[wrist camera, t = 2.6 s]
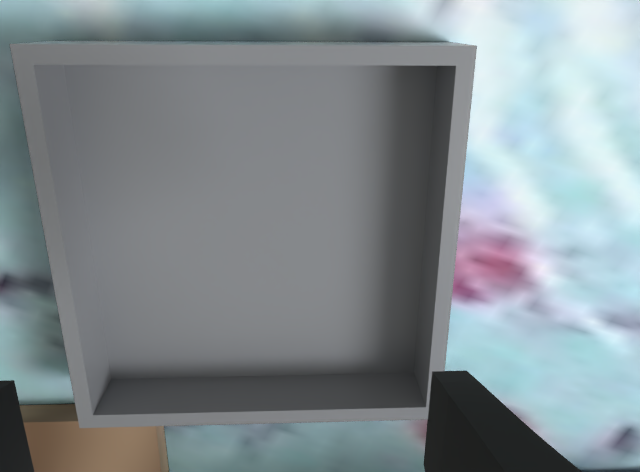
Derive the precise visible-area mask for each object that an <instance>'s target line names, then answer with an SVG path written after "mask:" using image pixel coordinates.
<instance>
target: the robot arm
mask: <svg viewBox="0 0 640 472" xmlns="http://www.w3.org/2000/svg"><path fill="white" fill-rule="evenodd" d="M424 467H425V472H582V471H581V470H579V469H578V468H577V467H575V466H574V465H573V464H572V463H570V462H569V461H568V460H567V459H566V458H564V457H563V456H562V455H561V454H560V453H558V452H557V451H556V450H555V449H554V448H552V447H551V446H550V445H549V444H548V443H546V442H545V441H544V440H543V439H542V438H541V437H539V436H538V435H537V434H536V433H535V432H534V431H533V430H531V429H530V428H529V427H528V426H527V425H526V424H525V423H524V422H522V421H521V420H520V419H519V418H518V417H517V416H516V415H515V414H513V413H512V412H511V411H510V410H509V409H508V408H507V407H506V406H505V405H504V404H503V403H501V402H500V401H499V400H498V399H497V398H496V397H495V396H494V395H493V394H492V393H491V392H489V391H488V390H487V389H486V388H485V387H484V386H483V385H482V384H481V383H480V382H479V381H477V380H476V379H475V378H474V377H473V376H472V375H471V374H470V373H468V372H467V371H434V372H432V379H431V390H430V401H429V412H428V423H427V434H426V445H425V456H424ZM0 472H34V467H33V463H32V459H31V454H30V450H29V445H28V441H27V436H26V432H25V427H24V423H23V419H22V414H21V410H20V405H19V401H18V396H17V392H16V387H15V383H14V381H0Z"/></svg>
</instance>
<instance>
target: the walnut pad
mask: <svg viewBox="0 0 640 472" xmlns="http://www.w3.org/2000/svg"><path fill="white" fill-rule="evenodd" d="M20 410H21V414H22V419H23V423H24V427H25V432H26V436H27V441H28V445H29V450H30V454H31V459H32V463H33V467H34V472H169V466H168V458H167V449H166V441H165V432H164V426H147V427H107V428H79V423H78V417H77V412H76V406H75V404H53V405H20Z"/></svg>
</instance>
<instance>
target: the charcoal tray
mask: <svg viewBox="0 0 640 472" xmlns="http://www.w3.org/2000/svg"><path fill="white" fill-rule="evenodd" d="M10 49H11V55H12V60H13V66H14V71H15V77H16V82H17V88H18V93H19V99H20V104H21V110H22V115H23V120H24V126H25V131H26V137H27V142H28V148H29V153H30V159H31V164H32V170H33V175H34V181H35V186H36V192H37V197H38V203H39V208H40V214H41V219H42V225H43V230H44V236H45V241H46V247H47V252H48V258H49V263H50V269H51V274H52V280H53V285H54V291H55V296H56V302H57V307H58V313H59V318H60V324H61V329H62V335H63V340H64V346H65V351H66V357H67V362H68V368H69V373H70V379H71V384H72V390H73V395H74V401H75V406H76V412H77V417H78V423H79V428H107V427H147V426H186V425H226V424H265V423H305V422H344V421H384V420H424V419H428V412H429V401H430V390H431V379H432V372H434V371H444V370H445V360H446V350H447V340H448V330H449V320H450V310H451V300H452V290H453V280H454V270H455V260H456V250H457V240H458V230H459V220H460V210H461V200H462V190H463V179H464V169H465V159H466V149H467V139H468V129H469V119H470V109H471V99H472V89H473V79H474V69H475V59H476V49H477V46H474V45H467V44H460V43H453V42H269V41H40V42H28V43H16V44H10Z"/></svg>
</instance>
